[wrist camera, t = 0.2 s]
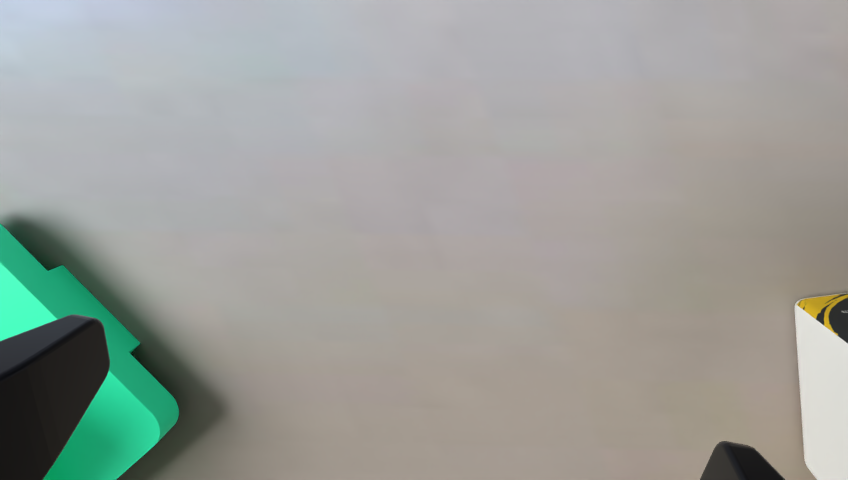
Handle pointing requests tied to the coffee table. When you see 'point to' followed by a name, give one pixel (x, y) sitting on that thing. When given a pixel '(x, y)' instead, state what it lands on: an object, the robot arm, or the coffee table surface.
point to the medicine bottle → (824, 383)
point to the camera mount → (121, 390)
